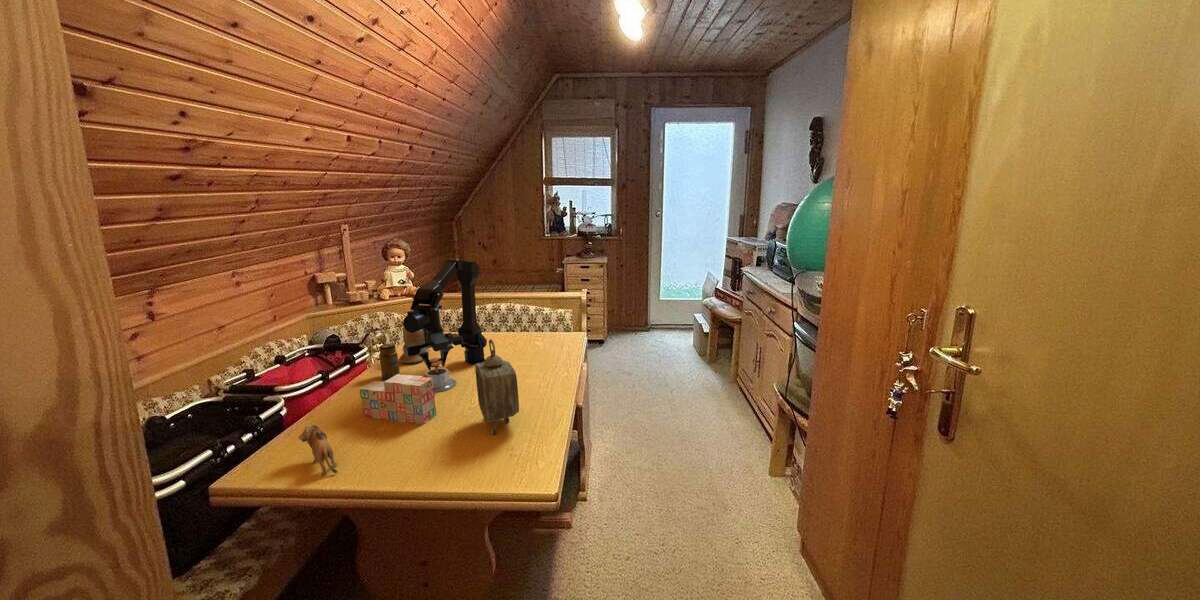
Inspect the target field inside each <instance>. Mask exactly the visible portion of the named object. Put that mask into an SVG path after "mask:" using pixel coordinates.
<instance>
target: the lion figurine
mask: <svg viewBox="0 0 1200 600" xmlns="http://www.w3.org/2000/svg"><path fill="white" fill-rule="evenodd" d="M304 429H305V430H303V431H302V433H301V434H300V435H298V439H299V440H300V441H301V442H302V443H305V442H306V443H307V444H308V445H309V447H310V449H311V452H312V456H313V458H314V459H313V460H312V463H313V462H314V463H313V464H317V463H319V464H318V465H320V468H321V471H322V472H321V476H326V475H328V471H327V468H326V466H325V463H326V465H327V466H328V468H329V469H330V470H331V471H332V472H333V473H334V474H337V473H338V470H337V469H336V468H333V467H337V466H338V462H335V458H334V452H333V447H332V446H331V445H330V443H329V441H328V437H327V436H328V435H327V434H326V433H325V432H324V431H323V430H322V429H321V428H320V427H319V426H317V424H316V425H315V424H308V425H306V426H305V427H304ZM329 460H330V461H329ZM324 461H325V462H324ZM316 462H317V463H316Z"/></svg>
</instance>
